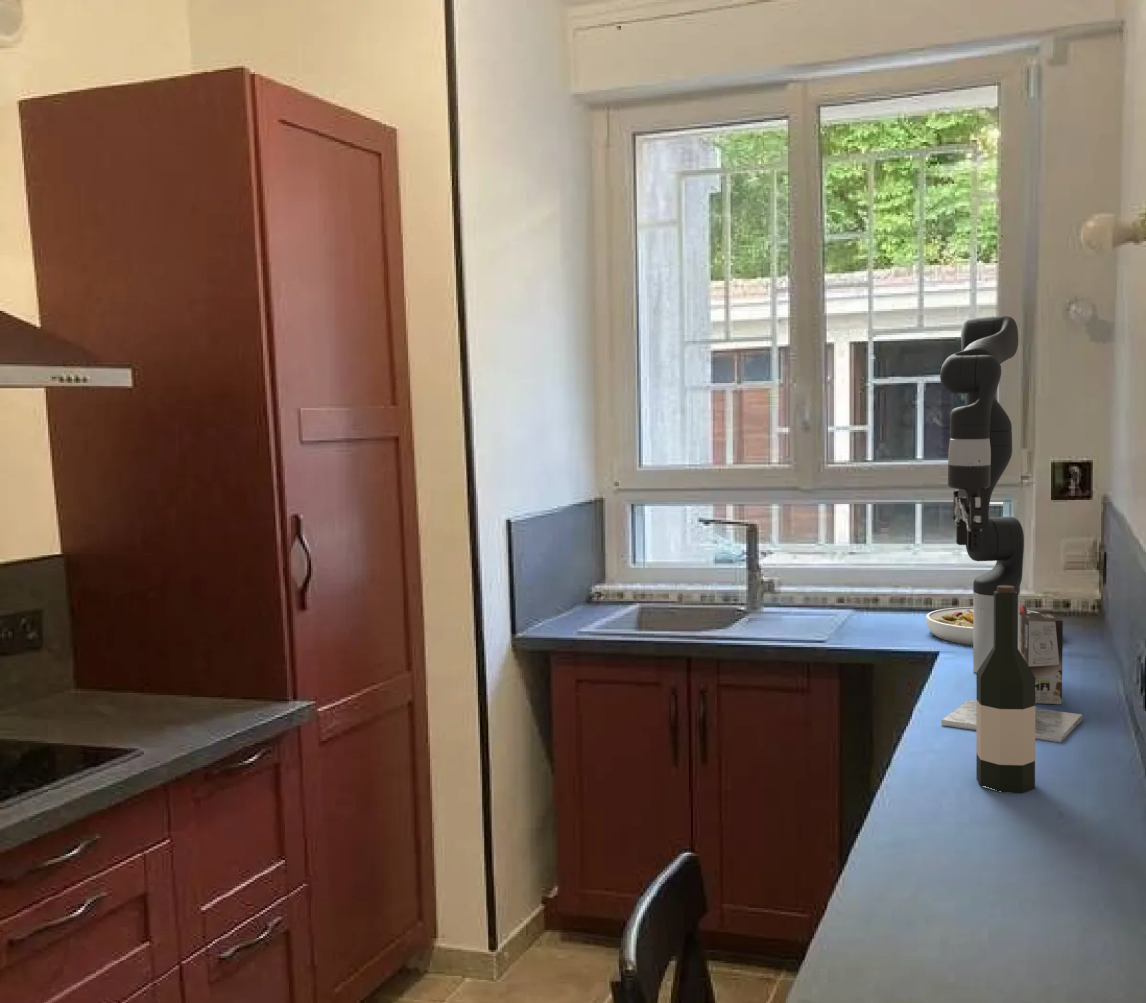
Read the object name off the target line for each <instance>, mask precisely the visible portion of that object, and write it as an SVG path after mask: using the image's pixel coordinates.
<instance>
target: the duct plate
mask: <svg viewBox="0 0 1146 1003" xmlns="http://www.w3.org/2000/svg"><path fill="white" fill-rule="evenodd" d="M1082 721H1083V714H1081V713H1074V712H1073V713H1072V712H1065V711H1057V710H1050V709H1044V708H1043V709H1041V708H1035V740H1040V741H1041V740H1042V741H1048V742H1055V743H1062V742H1063V741H1064V740H1065V738H1067V736H1068V735H1069V734H1071V732H1072V731H1073V730H1074V729H1075V728H1076V727H1077V726H1078V725H1079V724H1080V723H1081V722H1082ZM941 726H944V727H950V728H958V729H965V730H972V731H977V700H970V699H968V700H966V702H964V703H963V704H961V705H960V706H958V707H957V708H956V709H954V710H953V711H952V712H950V713H949V714H947V715H946V716H945V717H943V718H942V719H941Z"/></svg>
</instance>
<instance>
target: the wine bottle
mask: <svg viewBox="0 0 1146 1003" xmlns="http://www.w3.org/2000/svg"><path fill="white" fill-rule="evenodd" d="M976 701H977V730H976V737H975V738H976V740H975V741H976V757H975V759H976V765H975V766H976V773H975V774H976V779H977V780H978V782H979V783H978V782H977V783H978V785H979V784H980V785H979V787H980V786H986V787H989V788H992V789H995V790H997V791H1001V792H1012V793H1011V794H1024V793H1027V792H1029V791H1032V790H1035V789H1036V739H1035V709H1036V703H1035V676H1034V675H1033V673H1032V671H1031V670H1030V668H1029V666H1028V665H1027V663H1026V661H1025V660H1024V658H1023V656H1022V655H1021V653H1020V651H1019V650H1018V593H1017V592H1016V591H1015V587H1014V586H1009V585H1000V586H997V591H994V647H993V648H992V650H991V651H990V653H989V654H988V656H987V657H986V659H985V660H984V662H983V663H982V665H981V666H980V668H979V669H978V671H977V673H976ZM977 780H976V781H977Z"/></svg>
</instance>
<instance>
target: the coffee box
mask: <svg viewBox="0 0 1146 1003" xmlns="http://www.w3.org/2000/svg"><path fill="white" fill-rule="evenodd" d="M1063 637H1064V620H1062V619H1061V618H1060V617H1058V616H1057V615H1056V614H1054V613H1053V612H1039V613H1019V651H1020V653H1021V655H1022V656H1023V658H1024V660H1025V661H1026V663H1027V665H1028V666H1029V668H1030V670H1031V671H1032V673H1033V675H1034V676H1035V704H1043V705H1044V704H1045V705H1047V704H1048V705H1061V704H1062V703H1063V644H1064V643H1063V642H1064V641H1063V640H1064V639H1063Z"/></svg>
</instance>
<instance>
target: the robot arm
mask: <svg viewBox="0 0 1146 1003" xmlns="http://www.w3.org/2000/svg"><path fill="white" fill-rule="evenodd" d="M960 343H961V346H960V347H961V351H958V352H955V353H953V354H950V355H949V356H948V357H947V358H946V359H945V360H944V361H943V363H942V365H941V368H940V373H939V379H940V383H941V386H942V387H943V389H944V390H945V391H947V392H949V393H950V394H957V395H958V394H959V395H960V394H965V395H964V396H965V398H964V399H965V405H962V406H958V407H955V408H953V409H952V410H951V411H950V416H949V446H948V454H947V455H948V456H947V457H948V458H947V460H948V461H947V462H948V463H947V487H949V488H951V489H955V490H953V499H952V500H953V508H952V510H953V511H952V519H953V521H954V524H955V525H956V527H955V528H956V530H955V531H956V532H955V533H956V534H955V535H956V538H955V541H956V542H955V543H956V545H958V546H965V548H966V553H967V555H968V557H969V558H970V559H971V560H973V561H974V562H996V563H995V565H994V566H993V567H992V568H991V569H990V570H989V571H987V572H986V573H984V574H981V575H979V576H977V577H975V578H974V580H973V585H972V586H973V587H972V588H973V589H972V590H973V592H972V594H973V601H972V602H973V605H972V607H973V645H972V646H973V647H972V649H973V650H972V660H973V661H972V671H973V672H974V673H976V674H977V671H978V669H979V668H980V666H981V665H982V663H983V662H984V660H985V659H986V657H987V656H988V654H989V653H990V651H991V650H992V648H993V647H994V591H997V586H1000V585H1009V586H1014V587H1015V591H1016V592H1017V593H1018V650H1019V613H1020V604H1021V603H1020V602H1021V595H1020V594H1021V592H1020V591H1021V584H1022V580H1023V567H1024V564H1023V563H1024V551H1025V550H1024V549H1025V536H1024V529H1023V527H1022V526H1023V525H1022V524H1021V522H1020V521H1019V520H1018V519H1017V518H1016V517H1013V516H990V515H989V514H990V512H989V511H990V503H991V497H992V494H993V492H994V489H995V488H996V486H997V483H998V482H999V480H1000V479H1001V477H1002V476H1003V473H1004V472H1005V470H1006V468H1007V467H1008V465H1009V463H1010V460H1011V459H1012V455H1013V427H1012V422H1011V419H1010V416H1008V414H1007V412H1006V411H1005V409H1004V407H1003V406H1002V405H1001V404H1000V402H998V400H997V399H996V398H995V395H996V392H997V390H998V386H999V384H1000V380H1001V377H1002V366H1001V364H1003V363H1004V362H1005V361H1007V360H1009V359H1012V358H1013V357H1014V356H1015V355H1016V353H1017V351H1018V347H1019V329H1018V326H1017V322H1016V320H1015V319H1014V318H1013V317H1011V316H1008V315H996V316H985V317H973V318H968V319H965V321H963V323H962V326H961V330H960ZM956 489H957V490H956Z"/></svg>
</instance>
